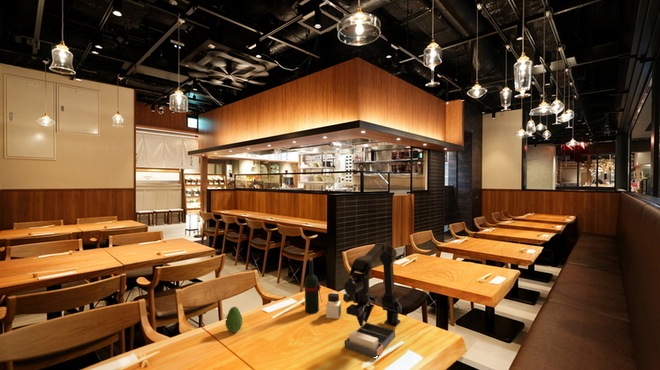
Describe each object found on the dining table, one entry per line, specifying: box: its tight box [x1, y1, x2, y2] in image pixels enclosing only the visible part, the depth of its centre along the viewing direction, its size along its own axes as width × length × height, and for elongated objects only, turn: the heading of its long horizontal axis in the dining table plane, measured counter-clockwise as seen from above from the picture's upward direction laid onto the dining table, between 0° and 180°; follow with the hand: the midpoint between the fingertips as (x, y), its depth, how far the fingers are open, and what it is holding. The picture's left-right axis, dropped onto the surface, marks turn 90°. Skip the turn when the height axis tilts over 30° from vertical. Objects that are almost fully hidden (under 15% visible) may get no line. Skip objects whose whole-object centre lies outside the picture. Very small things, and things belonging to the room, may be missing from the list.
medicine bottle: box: [325, 292, 342, 320], centre depth 157 cm, size 7×7×12 cm
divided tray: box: [343, 321, 396, 359], centre depth 130 cm, size 20×16×3 cm
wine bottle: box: [304, 257, 323, 315], centre depth 164 cm, size 8×10×30 cm
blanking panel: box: [348, 330, 378, 350], centre depth 125 cm, size 4×12×5 cm, turn 55°
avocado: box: [225, 306, 243, 333], centre depth 142 cm, size 8×8×12 cm
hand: (363, 323), depth 125 cm, fingers open, 4 cm apart
